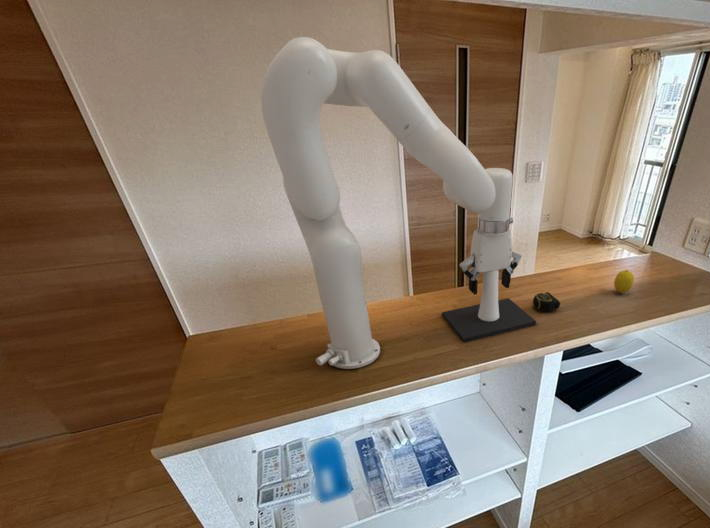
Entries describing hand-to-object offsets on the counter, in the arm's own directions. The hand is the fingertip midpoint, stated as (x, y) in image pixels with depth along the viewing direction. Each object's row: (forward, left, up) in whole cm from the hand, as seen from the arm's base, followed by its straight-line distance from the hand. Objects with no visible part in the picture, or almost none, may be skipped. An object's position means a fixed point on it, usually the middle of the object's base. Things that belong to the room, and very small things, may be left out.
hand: (489, 289), depth 99 cm
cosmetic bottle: (0, 0, -9) cm, 9 cm away
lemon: (+38, -28, -10) cm, 48 cm away
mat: (0, 0, -10) cm, 10 cm away
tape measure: (+16, -11, -10) cm, 22 cm away
